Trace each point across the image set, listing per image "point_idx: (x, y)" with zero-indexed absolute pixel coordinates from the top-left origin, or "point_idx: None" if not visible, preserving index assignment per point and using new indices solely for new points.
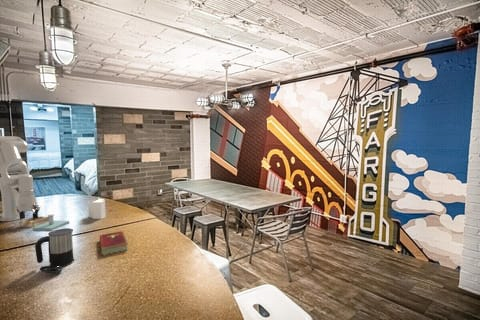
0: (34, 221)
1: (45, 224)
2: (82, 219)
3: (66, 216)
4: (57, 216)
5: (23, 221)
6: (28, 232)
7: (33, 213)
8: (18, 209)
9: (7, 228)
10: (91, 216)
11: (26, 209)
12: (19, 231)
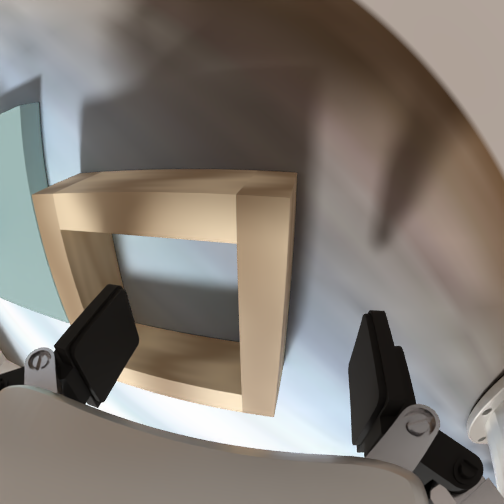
0: (44, 209)
1: (7, 210)
2: (11, 341)
3: (139, 422)
4: (203, 437)
5: (191, 192)
6: (27, 45)
7: (61, 354)
8: (401, 502)
9: (417, 97)
10: (13, 367)
11: (65, 442)
12: (116, 20)
